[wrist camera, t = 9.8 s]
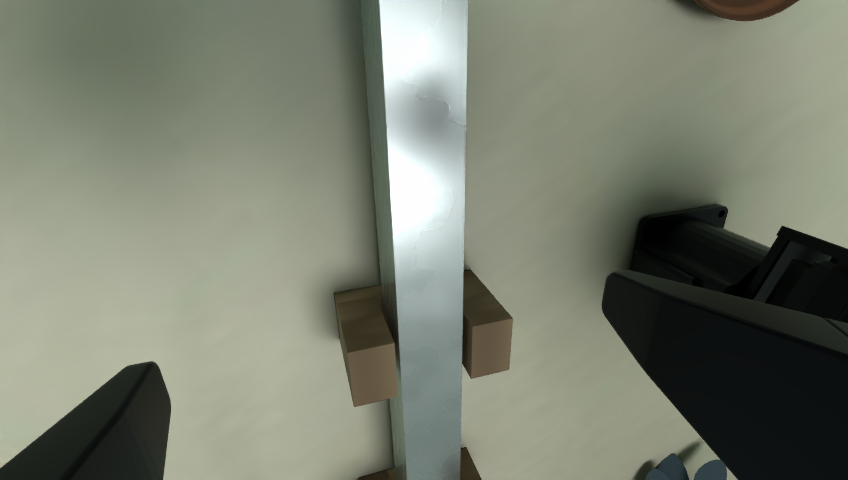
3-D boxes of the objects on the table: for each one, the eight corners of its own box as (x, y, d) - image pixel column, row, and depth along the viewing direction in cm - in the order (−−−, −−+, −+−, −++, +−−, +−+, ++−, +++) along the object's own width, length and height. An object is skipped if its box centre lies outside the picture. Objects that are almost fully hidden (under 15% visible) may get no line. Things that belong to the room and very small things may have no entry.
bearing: (470, 269, 24) (512, 318, 20) (469, 314, 26) (509, 369, 21) (333, 293, 22) (347, 353, 18) (339, 340, 24) (354, 407, 19)
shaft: (444, -47, 17) (487, -71, 14) (446, 511, 31) (467, 569, 28) (341, -51, 16) (359, -77, 13) (391, 528, 30) (406, 592, 26)
